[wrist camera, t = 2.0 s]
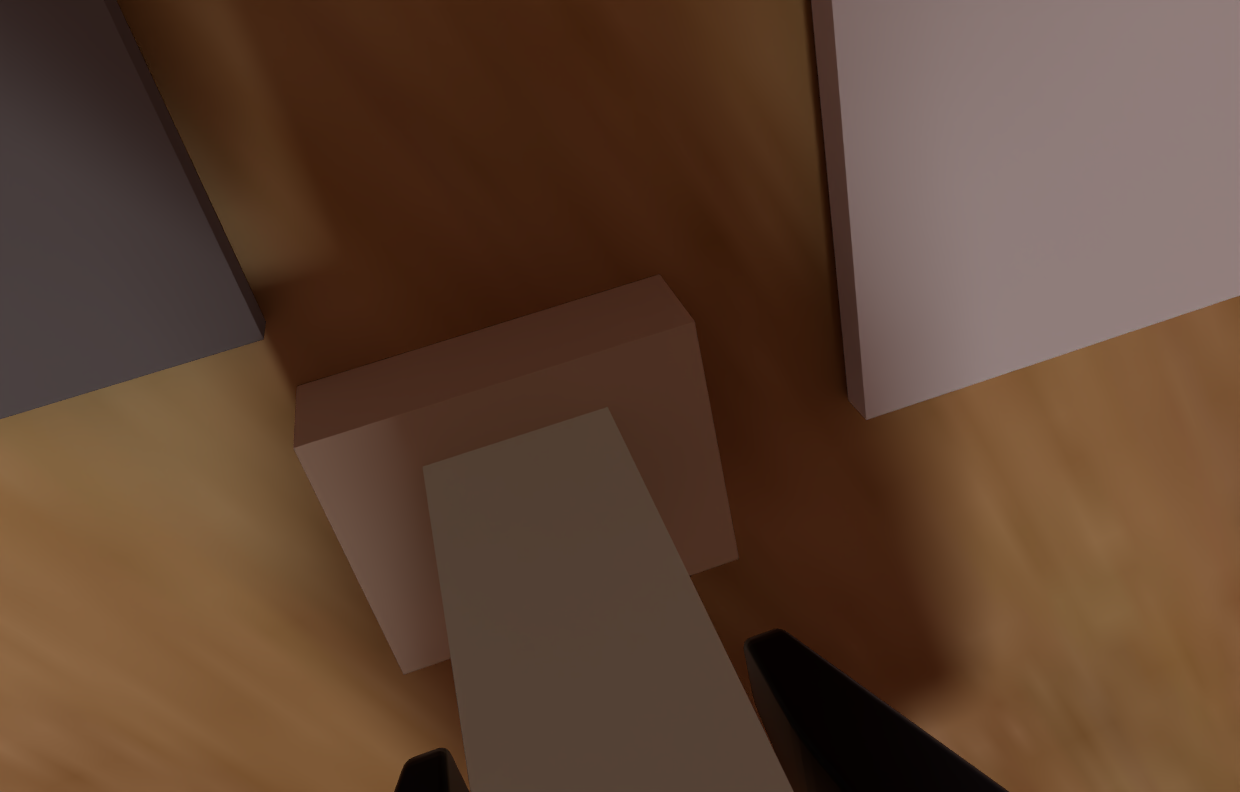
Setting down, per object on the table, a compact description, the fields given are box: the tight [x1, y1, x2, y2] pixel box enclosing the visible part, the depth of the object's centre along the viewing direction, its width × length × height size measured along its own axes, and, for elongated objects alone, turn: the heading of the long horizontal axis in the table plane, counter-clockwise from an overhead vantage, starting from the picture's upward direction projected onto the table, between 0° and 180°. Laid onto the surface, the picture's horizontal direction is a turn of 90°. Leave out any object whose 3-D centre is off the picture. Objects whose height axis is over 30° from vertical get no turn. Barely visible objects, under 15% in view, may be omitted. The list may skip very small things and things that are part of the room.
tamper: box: [293, 274, 794, 792], centre depth 10 cm, size 4×5×10 cm
